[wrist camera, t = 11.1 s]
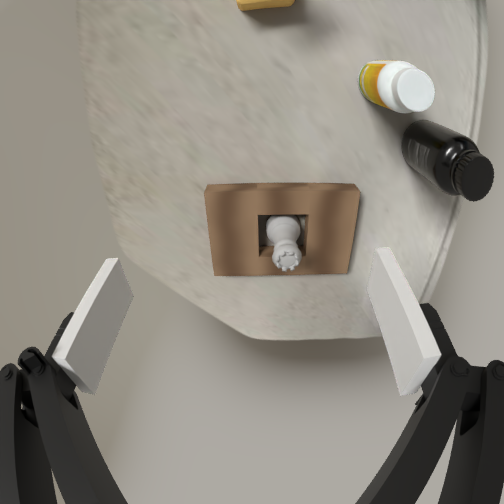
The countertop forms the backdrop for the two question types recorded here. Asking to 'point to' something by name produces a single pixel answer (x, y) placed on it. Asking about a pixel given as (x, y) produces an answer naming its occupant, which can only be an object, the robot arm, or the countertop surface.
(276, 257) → the rook chess piece
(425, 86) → the supplement bottle
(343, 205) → the walnut socket board
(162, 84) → the countertop surface
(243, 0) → the rubber stamp
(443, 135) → the supplement bottle
